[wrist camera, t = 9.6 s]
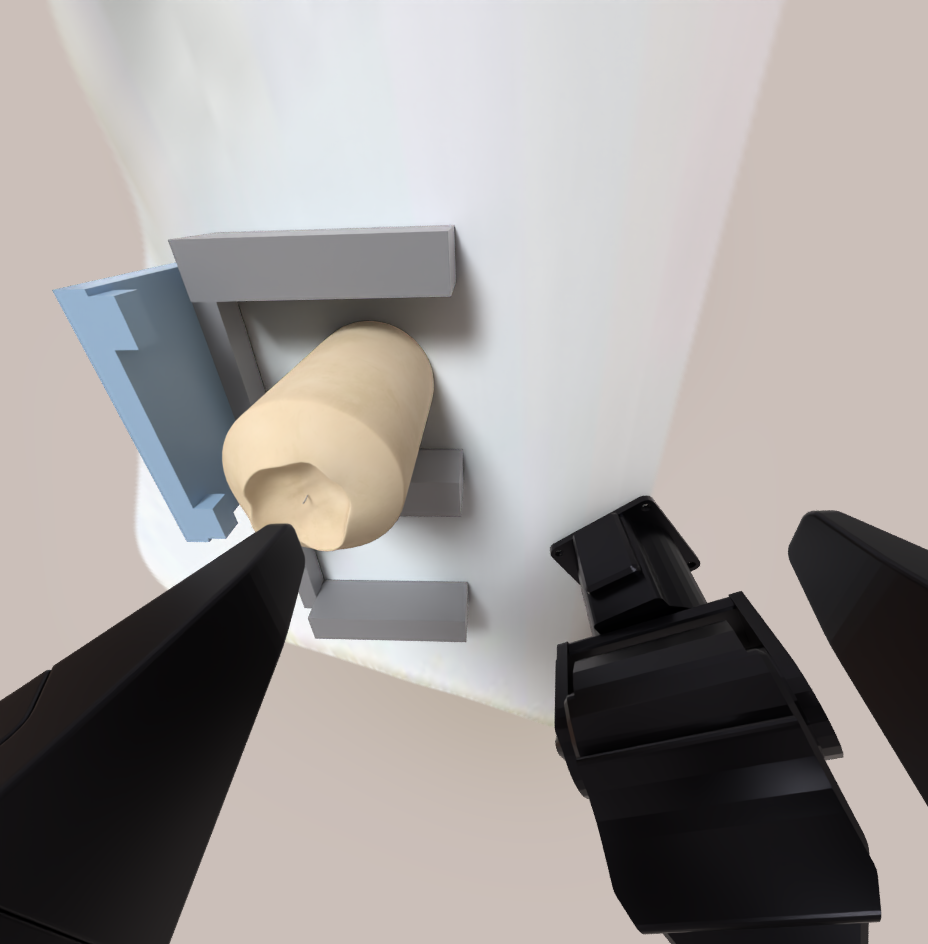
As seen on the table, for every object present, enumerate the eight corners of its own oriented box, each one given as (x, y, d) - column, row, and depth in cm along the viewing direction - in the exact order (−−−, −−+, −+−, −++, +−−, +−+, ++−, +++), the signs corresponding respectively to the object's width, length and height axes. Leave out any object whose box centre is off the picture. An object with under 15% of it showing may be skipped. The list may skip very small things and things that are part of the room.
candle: (456, 400, 20) (435, 546, 12) (366, 447, 22) (291, 603, 14) (390, 294, 18) (303, 384, 9) (293, 356, 19) (147, 480, 11)
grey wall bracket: (468, 602, 28) (464, 690, 23) (301, 599, 29) (263, 683, 24) (454, 225, 16) (439, 239, 11) (167, 234, 17) (31, 252, 12)
